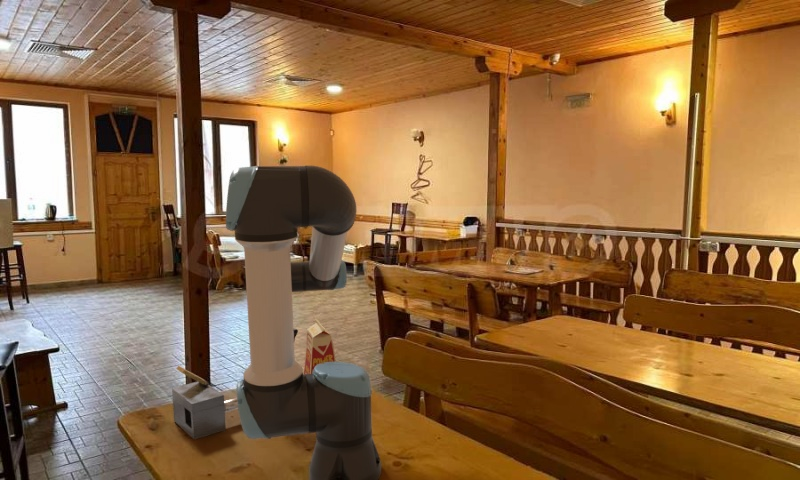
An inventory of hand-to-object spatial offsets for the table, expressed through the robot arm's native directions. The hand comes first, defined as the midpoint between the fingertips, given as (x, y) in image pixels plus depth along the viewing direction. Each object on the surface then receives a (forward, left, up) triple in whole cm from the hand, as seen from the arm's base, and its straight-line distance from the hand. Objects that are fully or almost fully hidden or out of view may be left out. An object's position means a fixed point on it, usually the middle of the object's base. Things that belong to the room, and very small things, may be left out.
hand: (278, 391), depth 151 cm
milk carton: (+6, -18, -5) cm, 19 cm away
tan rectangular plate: (+8, +20, +7) cm, 23 cm away
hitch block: (+4, +20, -4) cm, 21 cm away
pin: (0, +11, -2) cm, 11 cm away
